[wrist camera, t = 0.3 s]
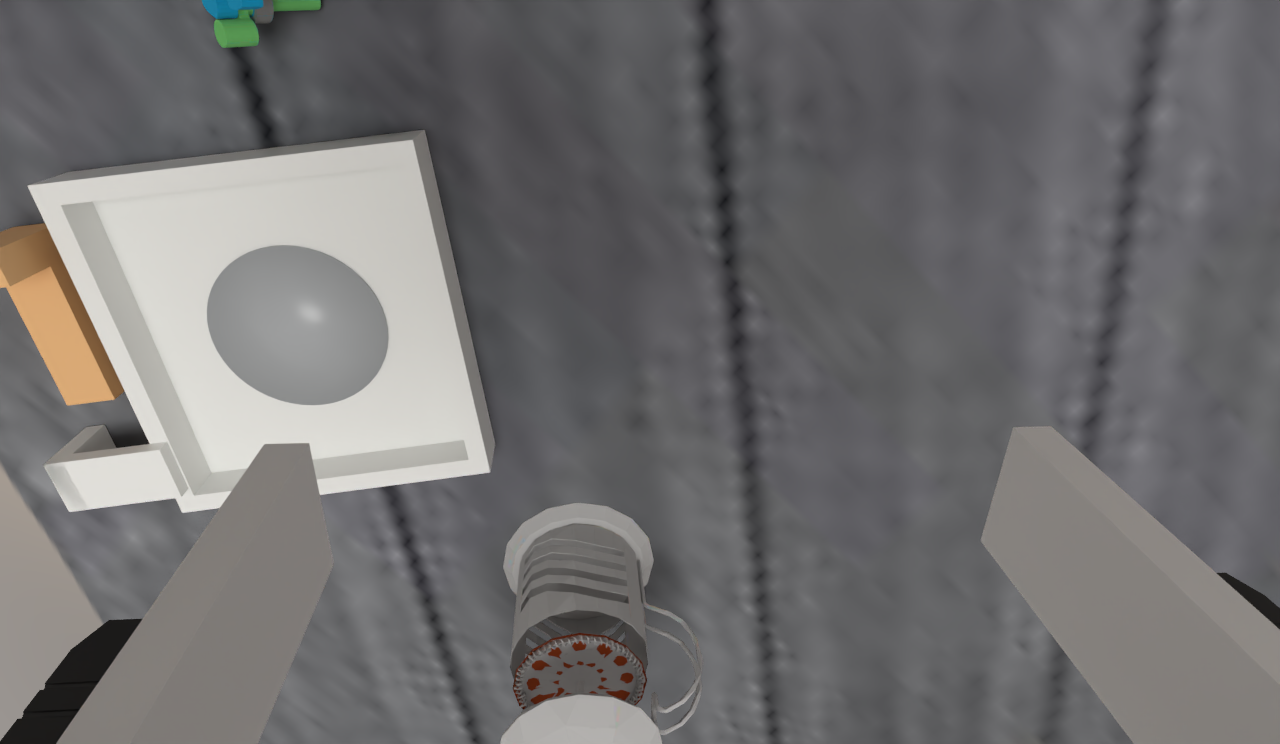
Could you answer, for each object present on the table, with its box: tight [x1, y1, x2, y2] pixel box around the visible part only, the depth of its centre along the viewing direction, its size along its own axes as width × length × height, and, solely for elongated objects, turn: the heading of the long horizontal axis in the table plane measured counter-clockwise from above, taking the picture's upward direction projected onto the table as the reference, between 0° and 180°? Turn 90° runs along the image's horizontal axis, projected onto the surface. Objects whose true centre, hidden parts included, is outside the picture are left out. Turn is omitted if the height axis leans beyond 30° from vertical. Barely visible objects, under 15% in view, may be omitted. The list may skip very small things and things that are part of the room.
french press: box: [500, 503, 703, 744], centre depth 37 cm, size 10×12×25 cm
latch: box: [0, 223, 124, 405], centre depth 36 cm, size 9×2×5 cm, turn 6°
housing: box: [28, 130, 495, 513], centre depth 38 cm, size 18×22×4 cm
